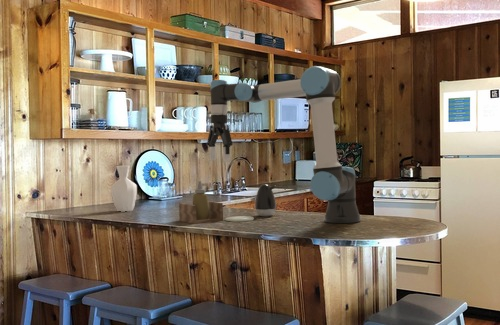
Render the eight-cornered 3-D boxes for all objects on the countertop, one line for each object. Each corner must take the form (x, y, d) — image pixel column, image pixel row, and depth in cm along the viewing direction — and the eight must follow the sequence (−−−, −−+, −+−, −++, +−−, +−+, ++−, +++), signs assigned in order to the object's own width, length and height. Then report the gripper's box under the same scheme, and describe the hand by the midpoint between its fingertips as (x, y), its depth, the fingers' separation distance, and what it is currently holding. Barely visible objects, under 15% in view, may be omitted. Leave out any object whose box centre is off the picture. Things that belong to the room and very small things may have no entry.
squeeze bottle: (196, 222, 250) (194, 182, 249) (189, 220, 257) (188, 181, 256) (212, 220, 253) (211, 181, 253) (205, 218, 260) (204, 180, 260)
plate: (259, 219, 251) (259, 218, 251) (234, 222, 244) (234, 220, 244) (244, 217, 262) (244, 215, 262) (220, 219, 255) (220, 218, 255)
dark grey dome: (275, 217, 259) (274, 184, 259) (253, 217, 261) (252, 184, 261) (278, 214, 269) (277, 183, 269) (257, 214, 271) (256, 183, 271)
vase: (143, 210, 308) (141, 165, 308) (124, 213, 296) (123, 166, 296) (124, 209, 316) (123, 165, 315) (105, 212, 304) (104, 166, 303)
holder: (223, 220, 252) (222, 202, 252) (193, 223, 245) (193, 205, 245) (208, 217, 265) (207, 200, 265) (179, 220, 258) (179, 203, 257)
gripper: (239, 113, 243) (240, 161, 244) (213, 115, 264) (214, 160, 265) (224, 113, 239) (225, 162, 240) (199, 115, 261) (200, 160, 261)
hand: (219, 161), depth 253 cm, fingers open, 13 cm apart
